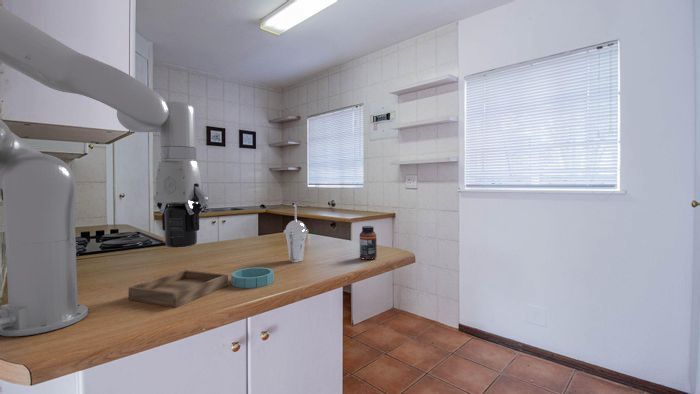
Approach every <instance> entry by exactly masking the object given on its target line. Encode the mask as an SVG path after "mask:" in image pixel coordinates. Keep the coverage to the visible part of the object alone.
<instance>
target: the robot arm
mask: <svg viewBox="0 0 700 394" xmlns="http://www.w3.org/2000/svg"><path fill="white" fill-rule="evenodd" d="M0 63H2V64H3V65H6V66H7V67H10V68H11V69H14V70H15V71H16V72H19V73H21V74H23V75H25V76H26V77H29V78H30V79H32V80H34V81H36V82H37V83H39V84H42V85H44V86H45V87H46V88H47V87H48V88H50V89H51V90H55V91H57V92H61V93H67V94H68V93H69V94H75V95H80V96H83V97H87V98H90V99H92V100H95V101H97V102H99V103H102V104H104V105H106V106H108V107H110V108H112V109H114V110H115V111H116V118H117V120H118V122H119V123H120V125H121V126H122V127H124V128H125V129H127V130H129V131H131V132H135V133H159V135H160V136H159V137H160V138H159V139H160V140H159V141H160V142H159V143H160V153H159V155H160V161H158V164H157V168H156V169H157V171H156V177H155V194H154V195H153V197H152V198H153V199H152V200H153V201H154V203H155V204H156V206H157V207H158V209H159V213H160V214H161V223H162V224H161V225H162V228H161V229H162V231H164V232H165V214H164V213H165V209H166V208H167V207H169V206H170V204H184V203H185V206H186V208H187V211H188V213H189V215H187V216H186V218H187V232H193V231H197V232H198V231H199V230H200V215H201V214H202V210H203V209H204V208H205V205H206V204H207V203H208V201H209V197H208V195H206V193H205V192H204V191H203V190H202V189H203V188H202V186H203V185H202V176H201V170H200V166H199V162H198V161H197V130H196V129H197V127H196V126H197V125H196V124H197V123H196V122H197V121H196V109H195V108H194V106H193V105H192V104H190V103H187V102H183V101H176V100H168V101H166V100H165V99H164V98H163V97H162V96H161V95H160V94H159V93H158V92H156V91H155V89H153V88H151V87H149V86H148V85H146V84H144V83H143V82H142V81H140V80H138V79H137V78H135V77H133V76H131V75H130V74H128V73H127V72H125V71H123V70H121V69H119V68H117V67H114V66H112V65H110V64H107V63H105V62H103V61H100V60H98V59H95V58H93V57H91V56H89V55H85V54H84V53H80V52H78V51H76V50H74V49H72V48H70V47H69V45H66V44H64V43H63V42H61V41H59V40H58V39H56V38H55V37H53V36H51V35H49V34H48V33H46V32H44V31H43V30H41V29H40V28H38V27H36V26H34V25H33V24H31V23H30V22H28V21H26V20H25V19H23V18H21V17H20V16H19V15H16V14H15V13H13V12H12V11H10V10H8V9H7V8H5V7H4V6H2V5H0ZM0 189H1V190H2V198H3V215H4V237H5V255H6V256H5V258H6V259H5V260H6V281H7V282H6V283H7V303H5V304H1V305H0V336H3V337H23V336H24V337H25V336H32V335H39V334H42V333H46V332H51V331H55V330H58V329H62V328H65V327H68V326H71V325H73V324H76V323H77V322H79V321H81V320H84V318H86V316H88V315H89V310H88V309H89V308H88V306H86V305H84V304H79V303H78V302H79V301H78V277H77V276H78V274H77V244H76V241H77V239H76V198H77V197H76V195H77V192H76V191H77V185H76V178H75V174H74V173H73V170H72V169H71V167H70V166H69V165H68V164H67V163H66V162H65V161H63V160H62V159H60V158H58V157H56V156H54V155H50V154H47V153H42V152H41V151H40V150H38V149H36V148H35V147H34V146H32V145H31V144H29V143H28V142H26V141H25V140H24V139H22V138H21V137H19V136H18V135H16V133H14V132H13V131H11V129H10V127H8V125H7V124H6V123H5V122H4V121H3V120H2V119H0ZM192 206H193V208H192Z"/></svg>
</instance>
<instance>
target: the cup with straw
mask: <svg viewBox="0 0 700 394" xmlns="http://www.w3.org/2000/svg"><path fill="white" fill-rule="evenodd" d="M291 205H292V206H293V207H294V220H291V221H290V222H288V224H287V225H286V226H285V229H284V230H283V232H282V233H283V234H284V235H285V238H286V241H287V242H286V243H287V251H288V258H289V262H290V261H292V262H291V263H299V262H298V261H302V260H303V261H304V255H305V247H306V246H305V244H306V239H307V234H308V233H309V229H308V228H307V226H306V224H305V223H304V222H303V221H301V220H298V219H297V218H298V214H297V213H298V211H297V210H298V208H297V207H298V206H297V204H296V203H294V202H292V203H291ZM303 261H302V262H303Z"/></svg>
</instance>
